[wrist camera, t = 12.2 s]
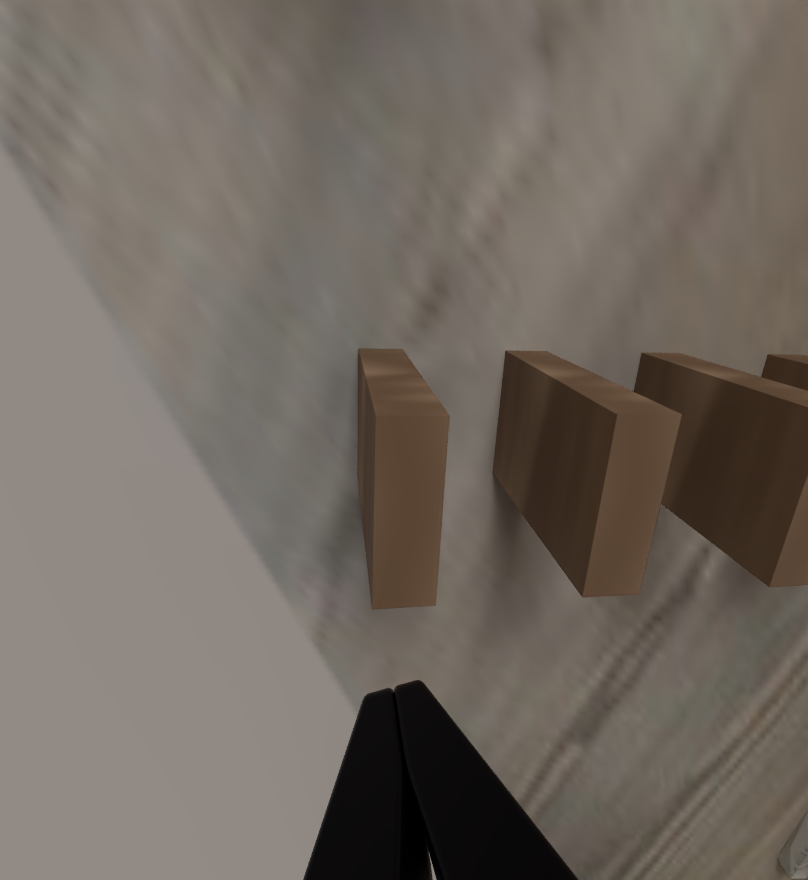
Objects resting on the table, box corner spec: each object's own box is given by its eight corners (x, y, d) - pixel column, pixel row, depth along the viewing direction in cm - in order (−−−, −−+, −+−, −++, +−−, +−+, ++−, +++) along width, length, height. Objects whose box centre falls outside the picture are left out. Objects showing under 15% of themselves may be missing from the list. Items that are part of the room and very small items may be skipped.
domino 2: (546, 351, 19) (681, 414, 12) (530, 472, 21) (638, 594, 13) (505, 350, 19) (617, 414, 11) (492, 473, 21) (582, 597, 13)
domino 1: (402, 349, 18) (449, 415, 11) (397, 474, 20) (435, 605, 13) (358, 348, 18) (375, 415, 11) (357, 475, 20) (371, 609, 12)
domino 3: (679, 353, 20) (885, 413, 12) (653, 469, 22) (820, 584, 14) (641, 352, 20) (828, 413, 12) (618, 470, 21) (769, 587, 14)
